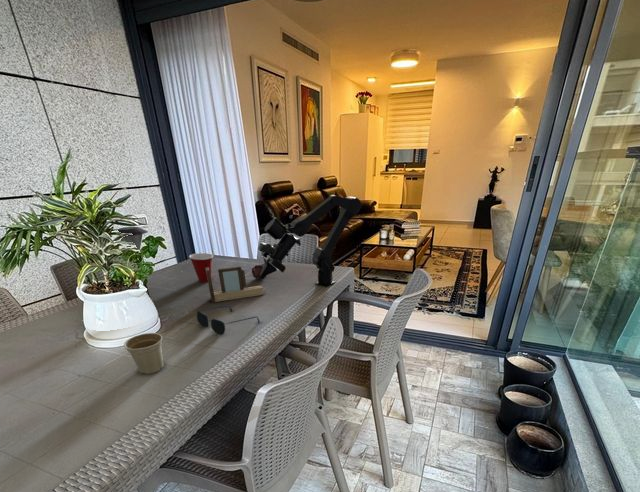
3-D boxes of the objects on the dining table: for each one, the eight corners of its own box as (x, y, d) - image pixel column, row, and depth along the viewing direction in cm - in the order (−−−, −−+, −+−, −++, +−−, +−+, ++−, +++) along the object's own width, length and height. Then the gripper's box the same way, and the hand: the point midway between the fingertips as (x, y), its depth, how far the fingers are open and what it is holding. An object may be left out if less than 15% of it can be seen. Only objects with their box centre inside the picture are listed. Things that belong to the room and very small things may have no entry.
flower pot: (146, 381, 91) (137, 352, 87) (125, 371, 96) (116, 344, 92) (176, 365, 98) (169, 337, 94) (155, 357, 103) (148, 330, 99)
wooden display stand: (261, 291, 152) (257, 261, 146) (263, 294, 148) (260, 264, 142) (211, 298, 146) (205, 267, 139) (212, 302, 141) (206, 270, 135)
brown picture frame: (246, 291, 148) (242, 265, 143) (247, 293, 146) (243, 267, 141) (222, 294, 145) (217, 268, 140) (222, 296, 143) (218, 270, 138)
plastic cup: (214, 283, 164) (209, 257, 158) (191, 283, 164) (185, 258, 158) (220, 276, 173) (216, 252, 168) (198, 277, 173) (193, 252, 168)
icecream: (264, 270, 158) (272, 264, 171) (248, 266, 158) (257, 260, 171) (262, 284, 161) (269, 277, 174) (246, 280, 161) (255, 274, 174)
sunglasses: (196, 323, 123) (195, 309, 121) (231, 315, 133) (231, 303, 132) (224, 337, 113) (223, 322, 111) (260, 328, 123) (260, 314, 121)
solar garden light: (170, 300, 145) (152, 224, 131) (159, 312, 134) (138, 230, 120) (141, 301, 145) (119, 225, 130) (127, 313, 134) (102, 231, 120)
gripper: (263, 230, 148) (241, 260, 150) (274, 238, 133) (249, 271, 135) (283, 247, 154) (261, 275, 156) (296, 256, 139) (271, 287, 141)
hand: (260, 277), depth 147 cm, fingers closed
